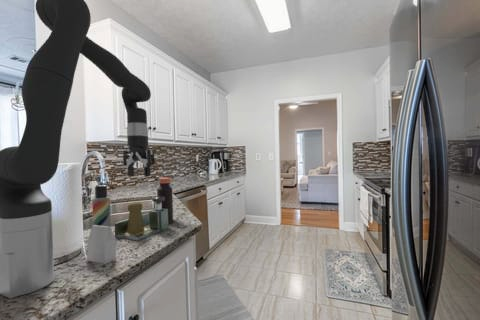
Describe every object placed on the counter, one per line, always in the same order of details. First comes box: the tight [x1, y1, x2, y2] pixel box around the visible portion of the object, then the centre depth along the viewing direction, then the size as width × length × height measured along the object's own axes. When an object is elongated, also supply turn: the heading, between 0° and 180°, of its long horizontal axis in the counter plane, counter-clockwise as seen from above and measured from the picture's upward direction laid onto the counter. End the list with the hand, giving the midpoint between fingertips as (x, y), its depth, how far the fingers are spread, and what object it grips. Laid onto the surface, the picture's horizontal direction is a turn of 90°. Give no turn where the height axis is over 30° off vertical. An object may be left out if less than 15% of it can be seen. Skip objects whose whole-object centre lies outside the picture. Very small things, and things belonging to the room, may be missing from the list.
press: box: [114, 208, 170, 242], centre depth 92 cm, size 16×12×8 cm
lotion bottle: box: [91, 184, 112, 228], centre depth 86 cm, size 6×6×20 cm
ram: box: [151, 196, 164, 211], centre depth 96 cm, size 5×5×8 cm
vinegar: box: [156, 177, 174, 223], centre depth 108 cm, size 7×7×20 cm
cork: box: [127, 201, 144, 233], centre depth 90 cm, size 6×6×11 cm
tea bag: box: [86, 224, 117, 265], centre depth 68 cm, size 4×7×10 cm, turn 71°
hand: (139, 176), depth 91 cm, fingers open, 8 cm apart
